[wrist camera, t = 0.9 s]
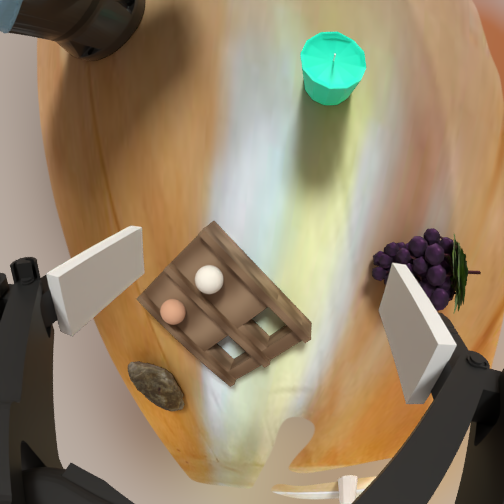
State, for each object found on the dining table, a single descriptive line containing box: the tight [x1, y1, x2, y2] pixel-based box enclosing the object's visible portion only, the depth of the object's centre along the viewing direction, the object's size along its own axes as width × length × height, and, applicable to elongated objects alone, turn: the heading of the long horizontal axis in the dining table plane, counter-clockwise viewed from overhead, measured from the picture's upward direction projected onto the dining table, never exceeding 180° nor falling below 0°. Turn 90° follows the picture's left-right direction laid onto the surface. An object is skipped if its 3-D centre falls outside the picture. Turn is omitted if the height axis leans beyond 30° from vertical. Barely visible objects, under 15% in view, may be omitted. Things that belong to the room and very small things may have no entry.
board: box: [137, 221, 312, 387], centre depth 42 cm, size 20×16×4 cm
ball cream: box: [195, 265, 224, 294], centre depth 37 cm, size 4×4×4 cm
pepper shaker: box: [338, 475, 358, 504], centre depth 51 cm, size 5×5×11 cm
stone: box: [128, 361, 184, 411], centre depth 50 cm, size 13×8×8 cm
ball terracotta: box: [160, 299, 186, 325], centre depth 40 cm, size 4×4×4 cm
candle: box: [300, 32, 366, 105], centre depth 25 cm, size 6×6×12 cm
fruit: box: [372, 229, 481, 312], centre depth 32 cm, size 10×11×15 cm
